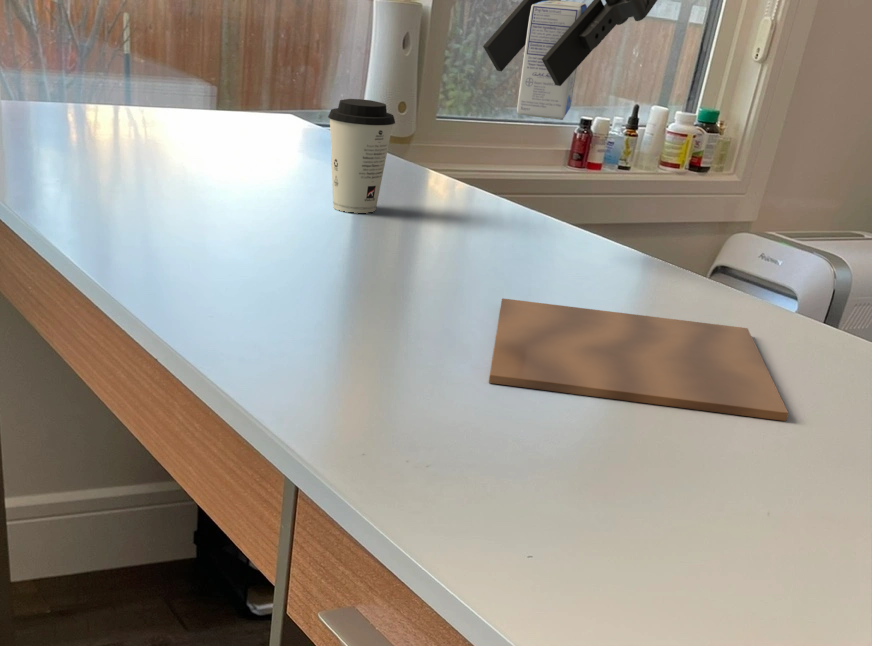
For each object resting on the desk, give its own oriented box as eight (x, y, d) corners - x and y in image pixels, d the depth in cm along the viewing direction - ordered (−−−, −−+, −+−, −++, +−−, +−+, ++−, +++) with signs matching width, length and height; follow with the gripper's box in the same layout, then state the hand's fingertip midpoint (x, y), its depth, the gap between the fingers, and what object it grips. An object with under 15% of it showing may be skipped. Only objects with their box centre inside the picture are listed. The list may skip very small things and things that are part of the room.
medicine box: (564, 121, 100) (583, 6, 95) (514, 115, 100) (531, 1, 95) (570, 110, 106) (588, 2, 101) (523, 105, 107) (539, -2, 102)
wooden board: (745, 335, 91) (747, 327, 90) (786, 421, 74) (788, 412, 74) (500, 305, 92) (501, 298, 92) (488, 383, 76) (489, 374, 76)
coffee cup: (391, 218, 117) (401, 110, 111) (324, 214, 116) (332, 105, 110) (382, 203, 122) (392, 100, 116) (319, 199, 121) (325, 95, 116)
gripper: (807, -98, 92) (612, 118, 95) (641, -104, 107) (477, 83, 110) (780, -188, 87) (574, 44, 89) (609, -181, 102) (437, 17, 105)
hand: (520, 65), depth 100 cm, fingers closed on medicine box, 9 cm apart
